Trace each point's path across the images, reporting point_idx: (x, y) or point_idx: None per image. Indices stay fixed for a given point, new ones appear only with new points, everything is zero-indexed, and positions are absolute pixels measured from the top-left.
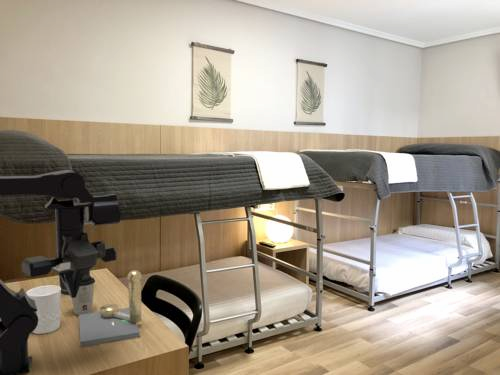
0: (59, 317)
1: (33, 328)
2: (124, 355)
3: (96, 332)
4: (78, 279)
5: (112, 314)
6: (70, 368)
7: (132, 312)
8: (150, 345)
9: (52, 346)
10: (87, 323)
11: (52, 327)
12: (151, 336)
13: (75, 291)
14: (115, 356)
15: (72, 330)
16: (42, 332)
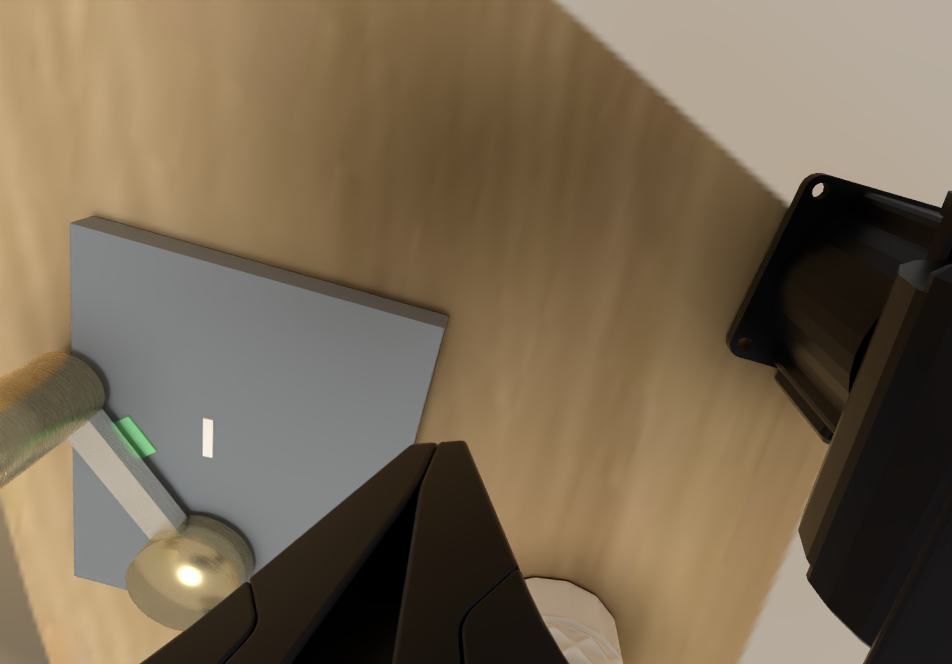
0: None
1: (921, 270)
2: (231, 11)
3: (323, 389)
4: (255, 647)
5: (184, 527)
6: (582, 61)
7: (32, 401)
8: (43, 45)
9: (578, 418)
10: None
11: None
12: (20, 175)
13: (402, 484)
14: (288, 38)
15: None
16: (576, 590)
